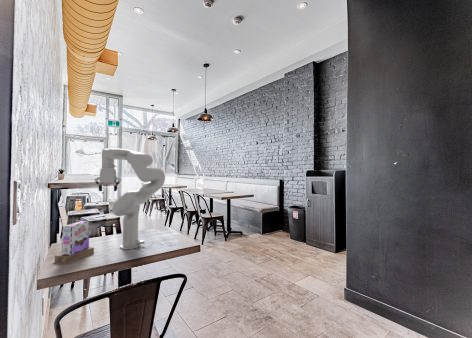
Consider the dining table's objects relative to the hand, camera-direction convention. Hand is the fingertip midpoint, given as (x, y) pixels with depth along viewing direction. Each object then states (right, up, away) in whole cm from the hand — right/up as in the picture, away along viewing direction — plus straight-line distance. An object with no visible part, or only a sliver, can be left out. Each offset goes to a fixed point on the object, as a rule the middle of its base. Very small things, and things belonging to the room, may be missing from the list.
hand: (108, 191), depth 166 cm
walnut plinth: (-5, -37, -27) cm, 46 cm away
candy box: (-5, -33, -26) cm, 43 cm away
